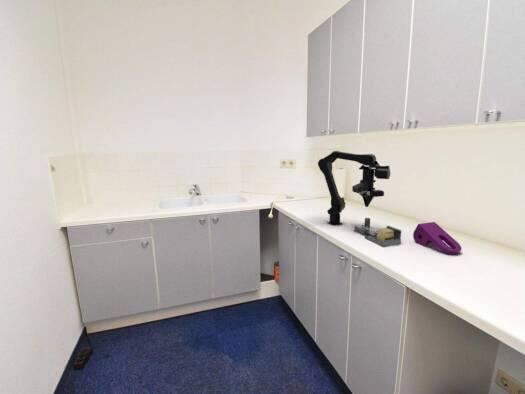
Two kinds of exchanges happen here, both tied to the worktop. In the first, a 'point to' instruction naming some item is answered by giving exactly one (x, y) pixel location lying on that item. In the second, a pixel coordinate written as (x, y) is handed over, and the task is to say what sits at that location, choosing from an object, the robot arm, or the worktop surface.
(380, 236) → the block
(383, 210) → the worktop surface
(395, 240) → the frame
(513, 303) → the worktop surface
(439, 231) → the mounting bracket
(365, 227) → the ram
